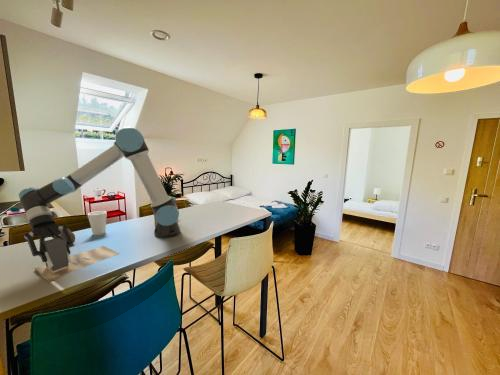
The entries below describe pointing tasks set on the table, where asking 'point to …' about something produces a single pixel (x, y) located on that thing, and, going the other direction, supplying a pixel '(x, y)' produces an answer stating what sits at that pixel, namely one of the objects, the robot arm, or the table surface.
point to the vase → (69, 235)
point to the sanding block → (57, 254)
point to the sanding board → (78, 262)
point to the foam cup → (98, 222)
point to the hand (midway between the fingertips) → (60, 264)
